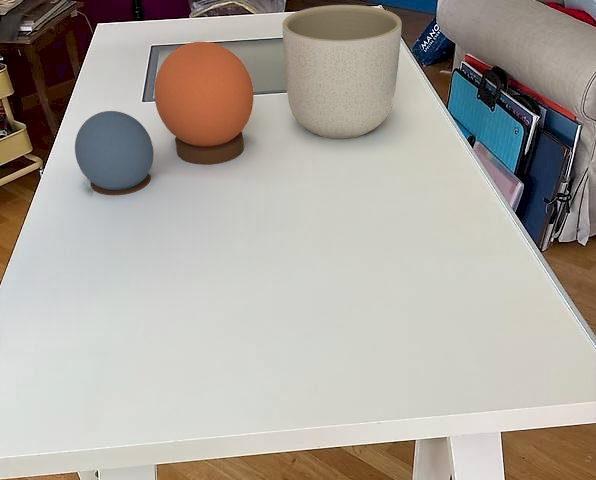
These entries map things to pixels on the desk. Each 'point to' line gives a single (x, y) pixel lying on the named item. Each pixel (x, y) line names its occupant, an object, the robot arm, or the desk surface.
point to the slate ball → (114, 153)
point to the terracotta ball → (204, 101)
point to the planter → (341, 67)
